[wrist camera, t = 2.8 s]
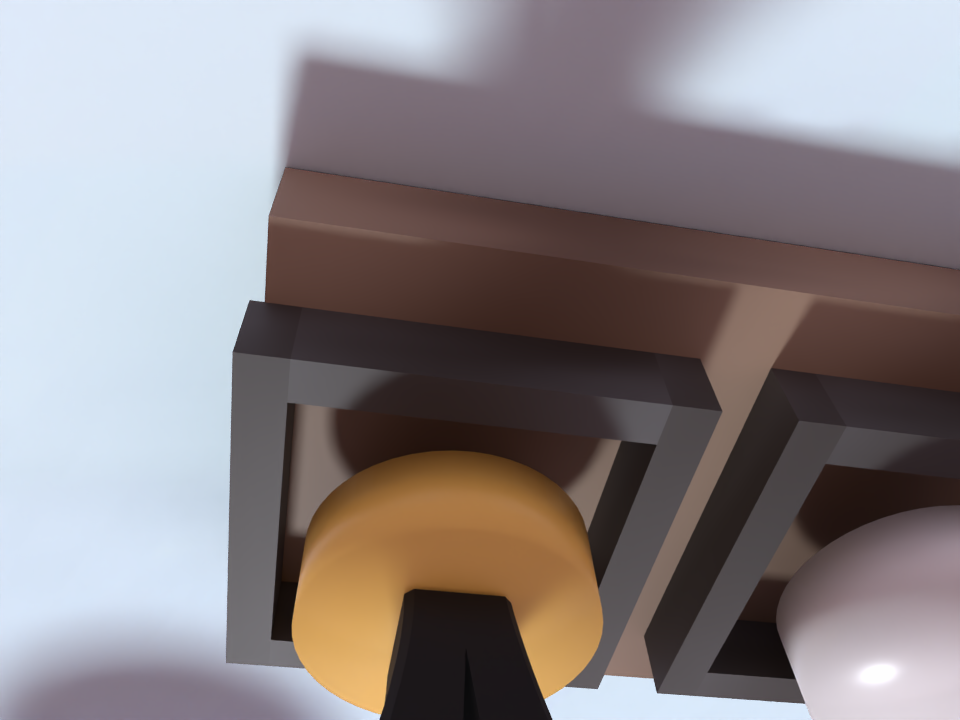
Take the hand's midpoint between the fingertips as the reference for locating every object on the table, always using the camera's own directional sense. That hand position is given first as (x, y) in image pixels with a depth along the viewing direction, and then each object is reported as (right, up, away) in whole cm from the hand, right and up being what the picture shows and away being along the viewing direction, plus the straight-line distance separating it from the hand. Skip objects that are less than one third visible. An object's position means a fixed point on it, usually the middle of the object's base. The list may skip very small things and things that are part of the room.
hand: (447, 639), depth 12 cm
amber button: (0, +1, +1) cm, 1 cm away
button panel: (+7, +2, +5) cm, 9 cm away
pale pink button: (+7, 0, +2) cm, 8 cm away
